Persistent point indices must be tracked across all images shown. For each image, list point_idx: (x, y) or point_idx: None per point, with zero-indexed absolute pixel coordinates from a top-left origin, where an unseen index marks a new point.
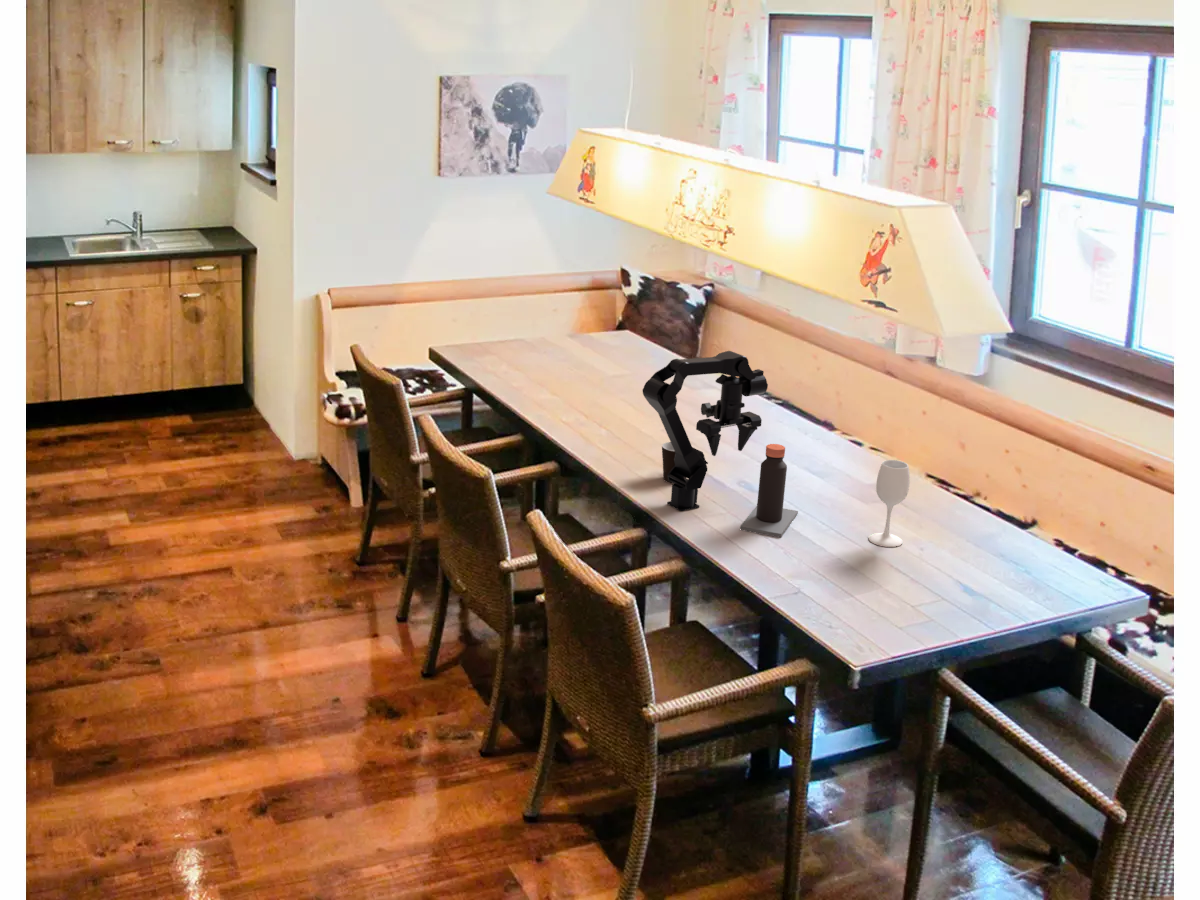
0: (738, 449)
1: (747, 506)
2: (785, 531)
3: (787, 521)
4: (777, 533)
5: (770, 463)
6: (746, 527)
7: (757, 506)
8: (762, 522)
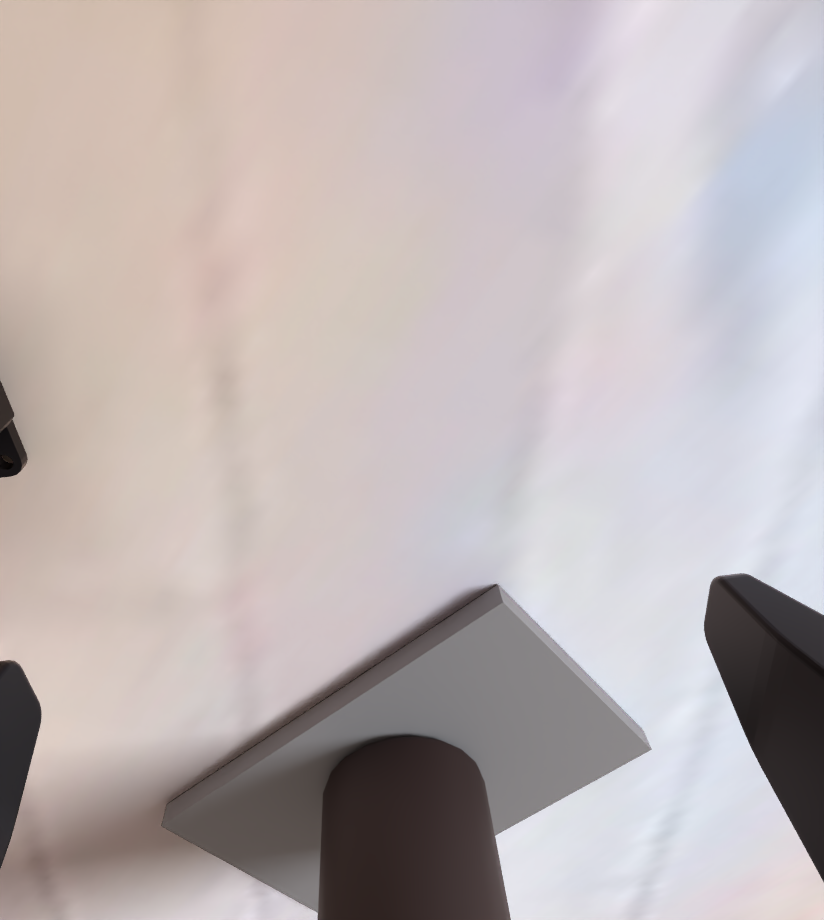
0: (715, 595)
1: (437, 549)
2: None
3: None
4: None
5: None
6: (191, 842)
7: (326, 848)
8: None
